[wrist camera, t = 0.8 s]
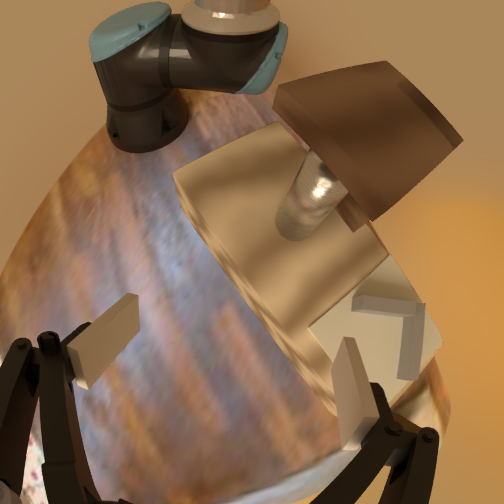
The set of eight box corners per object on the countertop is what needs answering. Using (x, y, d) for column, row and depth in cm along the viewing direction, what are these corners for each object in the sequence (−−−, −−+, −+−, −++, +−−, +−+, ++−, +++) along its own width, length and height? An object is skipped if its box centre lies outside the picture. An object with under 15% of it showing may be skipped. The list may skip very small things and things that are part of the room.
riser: (180, 208, 41) (172, 172, 31) (265, 160, 45) (277, 121, 35) (331, 413, 35) (364, 432, 25) (402, 344, 39) (443, 343, 29)
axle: (272, 205, 31) (302, 139, 20) (308, 204, 32) (351, 143, 21) (277, 242, 30) (314, 188, 19) (315, 240, 31) (366, 189, 19)
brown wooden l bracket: (244, 212, 31) (278, 85, 14) (320, 167, 34) (386, 60, 17) (294, 279, 29) (391, 206, 12) (365, 222, 32) (463, 140, 15)
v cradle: (307, 328, 28) (317, 327, 25) (389, 254, 32) (402, 248, 29) (372, 416, 26) (385, 421, 23) (440, 338, 30) (454, 336, 27)
